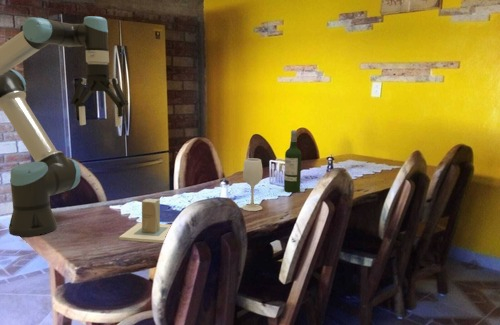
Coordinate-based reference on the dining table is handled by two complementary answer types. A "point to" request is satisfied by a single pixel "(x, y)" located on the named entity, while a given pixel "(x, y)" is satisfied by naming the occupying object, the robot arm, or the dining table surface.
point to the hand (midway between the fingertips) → (100, 125)
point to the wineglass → (252, 179)
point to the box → (150, 215)
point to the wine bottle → (292, 166)
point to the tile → (145, 234)
